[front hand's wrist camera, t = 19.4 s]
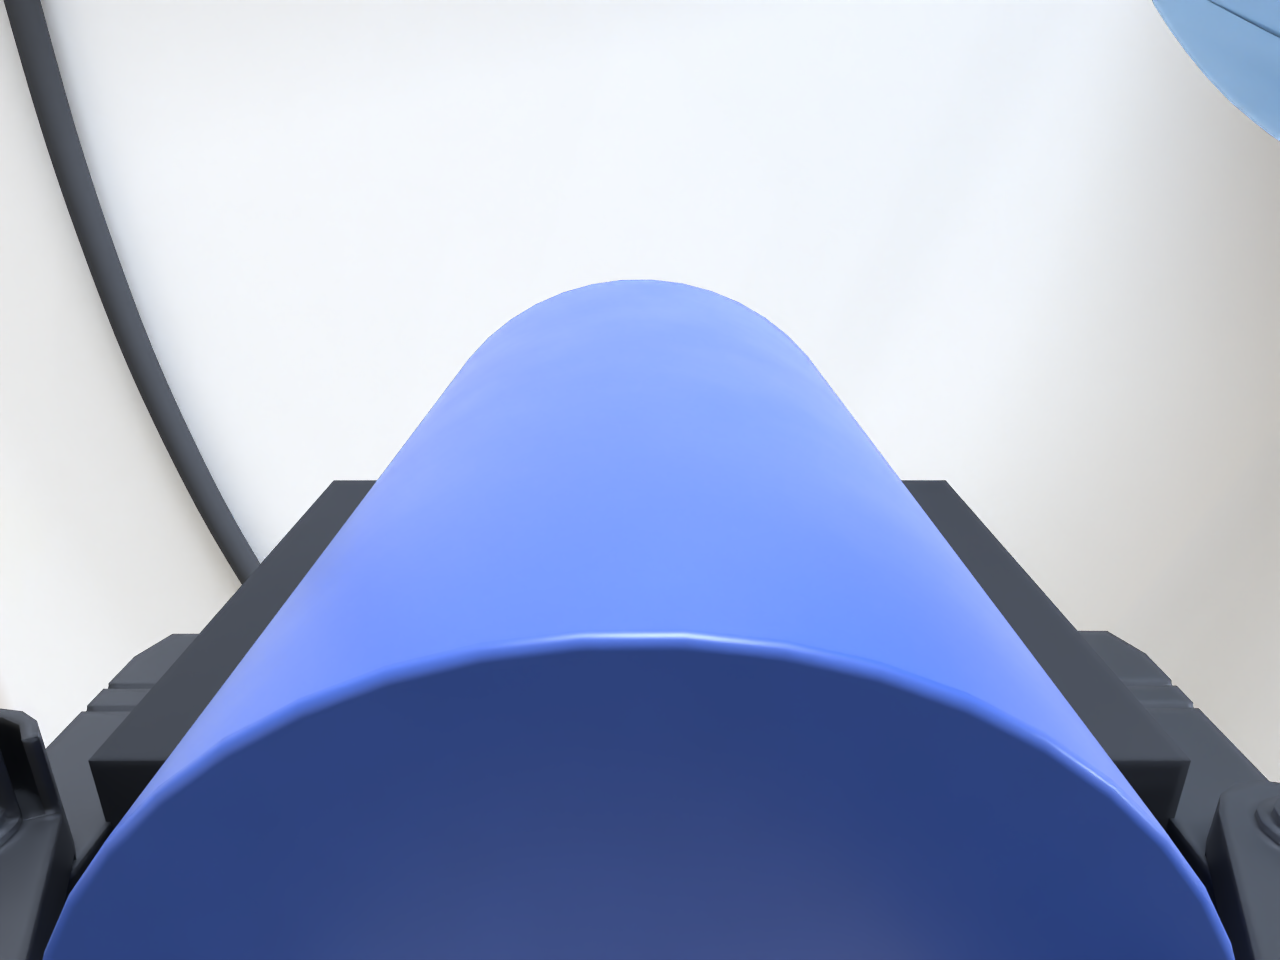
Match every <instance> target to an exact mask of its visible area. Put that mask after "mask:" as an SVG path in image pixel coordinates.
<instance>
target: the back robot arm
mask: <svg viewBox="0 0 1280 960" xmlns="http://www.w3.org/2000/svg"><path fill="white" fill-rule="evenodd" d="M1152 1H1153V4H1154V6H1155V7H1156V9H1157V10H1158V12H1159V13H1160V15H1161V17H1162V18H1163V20H1164V21H1165V23H1166V24H1167V26H1168V28H1169V29H1170V31H1171V32H1172V33H1173V35H1174V36H1175V37H1176V39H1177V40H1178V41H1179V43H1180V44H1181V46H1182V47H1183V48H1184V50H1185V51H1186V52H1187V54H1188V55H1189V56H1190V57H1191V59H1192V60H1193V61H1194V62H1195V63H1196V65H1197V66H1198V67H1199V68H1200V70H1201V71H1202V72H1203V73H1204V74H1205V76H1206V77H1207V78H1208V79H1209V80H1210V81H1211V82H1212V83H1213V84H1214V85H1215V86H1216V87H1217V89H1218V90H1219V91H1220V92H1221V93H1222V94H1223V95H1224V96H1225V97H1226V98H1227V99H1228V100H1229V101H1230V102H1231V103H1232V104H1233V105H1235V106H1236V107H1237V108H1238V109H1239V110H1240V111H1242V112H1243V113H1244V114H1245V115H1246V116H1248V117H1249V118H1250V119H1251V120H1252V121H1254V122H1255V123H1256V124H1257V125H1258V126H1260V127H1261V128H1262V129H1264V130H1265V131H1266V132H1267V133H1269V134H1270V135H1271V136H1273V137H1274V138H1276V139H1277V140H1279V141H1280V0H1152Z"/></svg>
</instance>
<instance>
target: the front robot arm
mask: <svg viewBox="0 0 1280 960" xmlns="http://www.w3.org/2000/svg"><path fill="white" fill-rule="evenodd" d="M4 3H5V7H6V10H7V14H8V17H9V21H10V24H11V28H12V31H13V35H14V38H15V42H16V45H17V49H18V52H19V56H20V59H21V63H22V66H23V70H24V73H25V76H26V80H27V83H28V87H29V90H30V93H31V97H32V100H33V103H34V107H35V110H36V113H37V117H38V120H39V123H40V127H41V130H42V133H43V136H44V139H45V142H46V146H47V149H48V152H49V155H50V158H51V161H52V164H53V167H54V170H55V173H56V176H57V179H58V182H59V185H60V188H61V191H62V194H63V197H64V200H65V202H66V205H67V208H68V211H69V214H70V217H71V219H72V222H73V225H74V228H75V231H76V233H77V236H78V239H79V242H80V244H81V247H82V250H83V253H84V255H85V258H86V261H87V264H88V266H89V269H90V272H91V274H92V277H93V280H94V282H95V285H96V288H97V290H98V293H99V296H100V298H101V301H102V303H103V306H104V309H105V311H106V314H107V316H108V319H109V321H110V324H111V326H112V329H113V331H114V334H115V336H116V339H117V341H118V344H119V346H120V348H121V351H122V353H123V356H124V358H125V360H126V363H127V365H128V367H129V369H130V372H131V374H132V376H133V379H134V381H135V383H136V385H137V387H138V390H139V392H140V394H141V396H142V398H143V401H144V403H145V405H146V407H147V409H148V411H149V413H150V415H151V418H152V420H153V422H154V424H155V426H156V428H157V430H158V432H159V434H160V436H161V438H162V440H163V443H164V445H165V447H166V449H167V451H168V453H169V455H170V457H171V459H172V461H173V463H174V465H175V467H176V469H177V471H178V473H179V475H180V477H181V478H182V480H183V482H184V484H185V486H186V488H187V490H188V492H189V494H190V496H191V498H192V499H193V501H194V503H195V505H196V507H197V509H198V511H199V512H200V514H201V516H202V518H203V520H204V521H205V523H206V525H207V527H208V529H209V530H210V532H211V534H212V536H213V537H214V539H215V541H216V542H217V544H218V546H219V548H220V549H221V551H222V553H223V554H224V556H225V558H226V559H227V561H228V563H229V564H230V566H231V567H232V569H233V571H234V572H235V574H236V576H237V577H238V579H239V580H240V582H241V584H242V586H241V587H240V588H239V589H238V590H237V592H236V593H235V594H234V595H233V596H232V597H231V598H230V600H229V601H228V602H227V603H226V604H225V605H224V606H223V608H222V609H221V610H220V611H219V612H218V613H217V614H216V615H215V617H214V618H213V619H212V620H211V621H210V622H209V623H208V625H207V626H206V627H205V628H204V629H203V630H202V631H201V633H200V634H172V635H170V636H168V637H167V638H165V639H163V640H162V641H160V642H158V643H157V644H155V645H153V646H152V647H150V648H148V649H147V650H145V651H143V652H142V653H140V654H138V655H137V656H135V657H134V658H133V659H132V660H131V661H130V662H129V663H128V664H127V665H126V666H125V667H124V668H123V669H122V670H121V671H120V672H119V673H118V674H117V675H116V676H115V677H114V678H113V680H112V681H111V682H110V683H109V687H108V689H103V690H102V691H101V692H100V693H99V694H98V695H97V696H96V697H95V698H94V699H93V700H92V701H91V702H90V703H89V704H88V706H87V711H86V712H81V713H80V714H79V715H78V716H77V717H76V718H75V719H74V720H73V721H72V722H71V723H70V724H69V725H68V726H67V727H66V728H65V729H64V730H63V731H62V733H61V734H60V735H59V736H58V737H57V738H56V739H55V740H54V741H53V742H52V743H51V744H50V745H49V746H48V747H47V748H46V749H45V746H44V743H43V740H42V736H41V733H40V730H39V727H38V723H37V721H36V720H35V719H33V718H32V717H30V716H29V715H27V714H26V713H24V712H23V711H15V710H7V709H0V960H43V956H44V951H45V949H46V947H47V944H48V942H49V940H50V937H51V935H52V933H53V930H54V928H55V926H56V923H57V921H58V919H59V916H60V914H61V912H62V910H63V907H64V905H65V903H66V900H67V898H68V896H69V894H70V892H71V891H72V889H73V888H74V886H75V885H76V884H77V882H78V881H79V879H80V878H81V876H82V875H83V873H84V872H85V870H86V869H87V867H88V866H89V864H90V863H91V861H92V860H93V859H94V857H95V856H96V854H97V853H98V851H99V850H100V848H101V847H102V845H103V844H104V842H105V841H106V839H107V838H108V837H109V835H110V834H111V833H112V831H113V830H114V829H115V827H116V826H117V825H118V824H119V822H120V821H121V820H122V818H123V817H124V816H125V814H126V813H127V812H128V810H129V809H130V808H131V806H132V805H133V804H134V802H135V801H136V800H137V798H138V797H139V796H140V794H141V793H142V792H143V790H144V789H145V788H146V786H147V785H148V784H149V782H150V781H151V780H152V778H153V777H154V776H155V774H156V773H157V772H158V770H159V769H160V768H161V766H162V765H163V764H164V763H165V761H166V760H167V759H168V757H169V756H170V755H171V753H172V752H173V751H174V749H175V748H176V747H177V745H178V744H179V743H180V741H181V740H182V739H183V737H184V736H185V735H186V733H187V732H188V731H189V729H190V728H191V727H192V725H193V724H194V723H195V721H196V720H197V719H198V717H199V716H200V715H201V713H202V712H203V711H204V709H205V708H206V707H207V706H208V704H209V703H210V702H211V700H212V699H213V698H214V696H215V695H216V694H217V692H218V691H219V690H220V688H221V687H222V686H223V684H224V683H225V682H226V680H227V679H228V678H229V676H230V675H231V674H232V672H233V671H234V670H235V668H236V667H237V666H238V664H239V663H240V662H241V660H242V659H243V658H244V656H245V655H246V654H247V652H248V651H249V650H250V648H251V647H252V646H253V645H254V643H255V642H256V641H257V639H258V638H259V637H260V635H261V634H262V633H263V631H264V630H265V629H266V627H267V626H268V625H269V623H270V622H271V621H272V619H273V618H274V617H275V615H276V614H277V613H278V611H279V610H280V609H281V607H282V606H283V605H284V603H285V602H286V601H287V599H288V598H289V597H290V595H291V594H292V593H293V591H294V590H295V589H296V587H297V586H298V585H299V584H300V582H301V581H302V580H303V578H304V577H305V576H306V574H307V573H308V572H309V570H310V569H311V568H312V566H313V565H314V564H315V562H316V561H317V560H318V558H319V557H320V556H321V554H322V553H323V552H324V550H325V549H326V548H327V546H328V545H329V544H330V542H331V541H332V540H333V538H334V537H335V536H336V534H337V533H338V532H339V530H340V529H341V528H342V526H343V525H344V524H345V523H346V521H347V520H348V519H349V517H350V516H351V515H352V513H353V512H354V511H355V509H356V508H357V507H358V505H359V504H360V503H361V501H362V500H363V499H364V497H365V496H366V495H367V493H368V492H369V491H370V489H371V488H372V487H373V485H374V484H375V483H376V481H333V482H332V483H331V484H330V485H329V487H328V488H327V489H326V490H325V491H324V492H323V493H322V495H321V496H320V497H319V498H318V499H317V500H316V501H315V503H314V504H313V505H312V506H311V507H310V508H309V509H308V511H307V512H306V513H305V514H304V515H303V516H302V517H301V519H300V520H299V521H298V522H297V523H296V524H295V525H294V527H293V528H292V529H291V530H290V531H289V532H288V533H287V535H286V536H285V537H284V538H283V539H282V540H281V541H280V542H279V544H278V545H277V546H276V547H275V548H274V549H273V550H272V552H271V553H270V554H269V555H268V556H267V557H266V558H265V560H264V561H263V562H262V563H261V564H260V563H259V561H258V559H257V558H256V556H255V554H254V553H253V551H252V549H251V548H250V546H249V544H248V543H247V541H246V539H245V537H244V536H243V534H242V532H241V530H240V529H239V527H238V525H237V523H236V522H235V520H234V518H233V516H232V514H231V513H230V511H229V509H228V507H227V505H226V503H225V501H224V500H223V498H222V496H221V494H220V492H219V490H218V488H217V486H216V484H215V482H214V480H213V478H212V476H211V474H210V472H209V470H208V468H207V466H206V464H205V462H204V460H203V458H202V456H201V454H200V452H199V450H198V448H197V446H196V444H195V442H194V440H193V438H192V436H191V434H190V431H189V429H188V427H187V425H186V423H185V421H184V419H183V417H182V414H181V412H180V410H179V408H178V406H177V404H176V401H175V399H174V397H173V395H172V393H171V390H170V388H169V386H168V384H167V381H166V379H165V377H164V374H163V372H162V370H161V367H160V365H159V363H158V360H157V358H156V356H155V353H154V351H153V348H152V346H151V343H150V341H149V339H148V336H147V334H146V331H145V328H144V326H143V323H142V321H141V318H140V316H139V313H138V310H137V308H136V305H135V302H134V300H133V297H132V294H131V292H130V289H129V286H128V283H127V281H126V278H125V275H124V272H123V270H122V267H121V264H120V261H119V258H118V256H117V253H116V250H115V247H114V244H113V241H112V238H111V236H110V233H109V230H108V227H107V224H106V221H105V218H104V215H103V212H102V210H101V207H100V204H99V201H98V198H97V195H96V192H95V189H94V186H93V183H92V179H91V176H90V173H89V170H88V167H87V164H86V161H85V157H84V154H83V151H82V148H81V145H80V141H79V138H78V135H77V131H76V128H75V125H74V121H73V118H72V114H71V111H70V108H69V104H68V101H67V97H66V94H65V90H64V86H63V83H62V79H61V76H60V72H59V68H58V65H57V61H56V58H55V54H54V50H53V47H52V43H51V39H50V36H49V32H48V28H47V24H46V21H45V17H44V13H43V10H42V6H41V2H40V0H4ZM901 481H902V483H903V484H904V485H905V487H906V488H907V489H908V490H909V492H910V493H911V494H912V496H913V497H914V498H915V500H916V501H917V502H918V504H919V505H920V506H921V508H922V509H923V510H924V512H925V513H926V514H927V516H928V517H929V518H930V520H931V521H932V522H933V524H934V525H935V526H936V528H937V529H938V530H939V532H940V533H941V534H942V536H943V537H944V538H945V540H946V541H947V542H948V544H949V545H950V546H951V548H952V549H953V550H954V552H955V553H956V554H957V556H958V557H959V558H960V560H961V561H962V562H963V563H964V565H965V566H966V567H967V569H968V570H969V571H970V573H971V574H972V575H973V577H974V578H975V579H976V581H977V582H978V583H979V585H980V586H981V587H982V589H983V590H984V591H985V593H986V594H987V595H988V597H989V598H990V599H991V601H992V602H993V603H994V605H995V606H996V607H997V609H998V610H999V611H1000V613H1001V614H1002V615H1003V617H1004V618H1005V619H1006V621H1007V622H1008V623H1009V625H1010V626H1011V627H1012V629H1013V630H1014V631H1015V633H1016V634H1017V635H1018V636H1019V638H1020V639H1021V640H1022V642H1023V643H1024V644H1025V646H1026V647H1027V648H1028V650H1029V651H1030V652H1031V654H1032V655H1033V656H1034V658H1035V659H1036V660H1037V662H1038V663H1039V664H1040V666H1041V667H1042V668H1043V670H1044V671H1045V672H1046V674H1047V675H1048V676H1049V678H1050V679H1051V680H1052V682H1053V683H1054V684H1055V686H1056V687H1057V688H1058V690H1059V691H1060V692H1061V694H1062V695H1063V696H1064V698H1065V699H1066V700H1067V702H1068V703H1069V704H1070V706H1071V707H1072V708H1073V710H1074V711H1075V712H1076V713H1077V715H1078V716H1079V717H1080V719H1081V720H1082V721H1083V723H1084V724H1085V725H1086V727H1087V728H1088V729H1089V731H1090V732H1091V733H1092V735H1093V736H1094V737H1095V739H1096V740H1097V741H1098V743H1099V744H1100V745H1101V747H1102V748H1103V749H1104V751H1105V752H1106V753H1107V755H1108V756H1109V757H1110V759H1111V760H1112V761H1113V763H1114V764H1115V765H1116V767H1117V768H1118V769H1119V771H1120V772H1121V773H1122V775H1123V776H1124V777H1125V779H1126V780H1127V781H1128V783H1129V784H1130V785H1131V786H1132V788H1133V789H1134V790H1135V792H1136V793H1137V794H1138V796H1139V797H1140V798H1141V800H1142V801H1143V802H1144V804H1145V805H1146V806H1147V808H1148V809H1149V810H1150V812H1151V813H1152V814H1153V816H1154V817H1155V818H1156V820H1157V821H1158V822H1159V824H1160V825H1161V826H1162V828H1163V829H1164V830H1165V832H1166V833H1167V834H1168V836H1169V837H1170V839H1171V840H1172V841H1173V843H1174V844H1175V846H1176V847H1177V848H1178V850H1179V851H1180V853H1181V854H1182V855H1183V857H1184V858H1185V860H1186V861H1187V862H1188V864H1189V865H1190V867H1191V868H1192V869H1193V871H1194V872H1195V874H1196V875H1197V876H1198V878H1199V879H1200V881H1201V882H1202V883H1203V885H1204V886H1205V888H1206V890H1207V892H1208V894H1209V897H1210V899H1211V901H1212V903H1213V905H1214V907H1215V910H1216V912H1217V914H1218V916H1219V918H1220V920H1221V923H1222V925H1223V927H1224V929H1225V931H1226V933H1227V936H1228V938H1229V940H1230V942H1231V945H1232V949H1233V953H1234V958H1235V960H1280V783H1276V782H1269V781H1268V780H1267V779H1266V777H1265V776H1264V775H1263V774H1262V773H1261V772H1260V771H1259V770H1258V769H1257V768H1256V767H1255V766H1254V765H1253V764H1252V763H1251V762H1250V761H1249V760H1248V759H1247V758H1246V757H1245V756H1244V755H1243V754H1242V753H1241V752H1240V751H1239V750H1238V749H1237V748H1236V747H1235V745H1234V744H1233V743H1232V742H1231V741H1230V740H1229V739H1228V738H1227V737H1226V736H1225V735H1224V734H1223V733H1222V732H1221V731H1220V730H1219V729H1218V728H1217V727H1216V726H1215V725H1214V724H1213V723H1212V722H1211V721H1210V720H1209V719H1208V718H1207V717H1206V716H1205V715H1204V713H1203V712H1202V711H1201V710H1200V709H1199V708H1193V702H1192V701H1191V700H1190V699H1189V698H1188V697H1187V696H1186V695H1185V694H1184V693H1183V692H1182V691H1181V690H1180V689H1179V688H1178V687H1177V686H1172V684H1171V679H1170V678H1169V677H1168V676H1167V675H1166V674H1165V673H1164V672H1163V671H1162V670H1161V669H1160V668H1159V667H1158V666H1157V665H1156V664H1155V663H1154V662H1153V661H1152V660H1151V659H1150V658H1149V657H1148V656H1147V655H1146V654H1145V653H1143V652H1142V651H1140V650H1138V649H1137V648H1135V647H1133V646H1132V645H1130V644H1128V643H1127V642H1125V641H1123V640H1121V639H1120V638H1118V637H1116V636H1115V635H1113V634H1111V633H1110V632H1108V631H1077V630H1076V629H1075V628H1074V627H1073V625H1072V624H1071V623H1070V622H1069V621H1068V620H1067V619H1066V617H1065V616H1064V615H1063V614H1062V613H1061V612H1060V611H1059V609H1058V608H1057V607H1056V606H1055V605H1054V604H1053V603H1052V601H1051V600H1050V599H1049V598H1048V597H1047V596H1046V595H1045V593H1044V592H1043V591H1042V590H1041V589H1040V588H1039V587H1038V585H1037V584H1036V583H1035V582H1034V581H1033V580H1032V579H1031V577H1030V576H1029V575H1028V574H1027V573H1026V572H1025V571H1024V569H1023V568H1022V567H1021V566H1020V565H1019V564H1018V563H1017V561H1016V560H1015V559H1014V558H1013V557H1012V556H1011V555H1010V554H1009V552H1008V551H1007V550H1006V549H1005V548H1004V547H1003V546H1002V544H1001V543H1000V542H999V541H998V540H997V539H996V538H995V536H994V535H993V534H992V533H991V532H990V531H989V530H988V528H987V527H986V526H985V525H984V524H983V523H982V522H981V520H980V519H979V518H978V517H977V516H976V515H975V514H974V512H973V511H972V510H971V509H970V508H969V507H968V506H967V504H966V503H965V502H964V501H963V500H962V499H961V498H960V496H959V495H958V494H957V493H956V492H955V491H954V490H953V488H952V487H951V486H950V485H949V484H948V483H947V482H946V481H945V480H901Z"/></svg>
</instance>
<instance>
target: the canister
mask: <svg viewBox="0 0 1280 960" xmlns="http://www.w3.org/2000/svg"><path fill="white" fill-rule="evenodd" d="M43 960H1235V958H1234V953H1233V949H1232V945H1231V942H1230V940H1229V938H1228V936H1227V933H1226V931H1225V929H1224V927H1223V925H1222V923H1221V920H1220V918H1219V916H1218V914H1217V912H1216V910H1215V907H1214V905H1213V903H1212V901H1211V899H1210V897H1209V894H1208V892H1207V890H1206V888H1205V886H1204V885H1203V883H1202V882H1201V881H1200V879H1199V878H1198V876H1197V875H1196V874H1195V872H1194V871H1193V869H1192V868H1191V867H1190V865H1189V864H1188V862H1187V861H1186V860H1185V858H1184V857H1183V855H1182V854H1181V853H1180V851H1179V850H1178V848H1177V847H1176V846H1175V844H1174V843H1173V841H1172V840H1171V839H1170V837H1169V836H1168V834H1167V833H1166V832H1165V830H1164V829H1163V828H1162V826H1161V825H1160V824H1159V822H1158V821H1157V820H1156V818H1155V817H1154V816H1153V814H1152V813H1151V812H1150V810H1149V809H1148V808H1147V806H1146V805H1145V804H1144V802H1143V801H1142V800H1141V798H1140V797H1139V796H1138V794H1137V793H1136V792H1135V790H1134V789H1133V788H1132V786H1131V785H1130V784H1129V783H1128V781H1127V780H1126V779H1125V777H1124V776H1123V775H1122V773H1121V772H1120V771H1119V769H1118V768H1117V767H1116V765H1115V764H1114V763H1113V761H1112V760H1111V759H1110V757H1109V756H1108V755H1107V753H1106V752H1105V751H1104V749H1103V748H1102V747H1101V745H1100V744H1099V743H1098V741H1097V740H1096V739H1095V737H1094V736H1093V735H1092V733H1091V732H1090V731H1089V729H1088V728H1087V727H1086V725H1085V724H1084V723H1083V721H1082V720H1081V719H1080V717H1079V716H1078V715H1077V713H1076V712H1075V711H1074V710H1073V708H1072V707H1071V706H1070V704H1069V703H1068V702H1067V700H1066V699H1065V698H1064V696H1063V695H1062V694H1061V692H1060V691H1059V690H1058V688H1057V687H1056V686H1055V684H1054V683H1053V682H1052V680H1051V679H1050V678H1049V676H1048V675H1047V674H1046V672H1045V671H1044V670H1043V668H1042V667H1041V666H1040V664H1039V663H1038V662H1037V660H1036V659H1035V658H1034V656H1033V655H1032V654H1031V652H1030V651H1029V650H1028V648H1027V647H1026V646H1025V644H1024V643H1023V642H1022V640H1021V639H1020V638H1019V636H1018V635H1017V634H1016V633H1015V631H1014V630H1013V629H1012V627H1011V626H1010V625H1009V623H1008V622H1007V621H1006V619H1005V618H1004V617H1003V615H1002V614H1001V613H1000V611H999V610H998V609H997V607H996V606H995V605H994V603H993V602H992V601H991V599H990V598H989V597H988V595H987V594H986V593H985V591H984V590H983V589H982V587H981V586H980V585H979V583H978V582H977V581H976V579H975V578H974V577H973V575H972V574H971V573H970V571H969V570H968V569H967V567H966V566H965V565H964V563H963V562H962V561H961V560H960V558H959V557H958V556H957V554H956V553H955V552H954V550H953V549H952V548H951V546H950V545H949V544H948V542H947V541H946V540H945V538H944V537H943V536H942V534H941V533H940V532H939V530H938V529H937V528H936V526H935V525H934V524H933V522H932V521H931V520H930V518H929V517H928V516H927V514H926V513H925V512H924V510H923V509H922V508H921V506H920V505H919V504H918V502H917V501H916V500H915V498H914V497H913V496H912V494H911V493H910V492H909V490H908V489H907V488H906V487H905V485H904V484H903V483H902V481H901V480H900V479H899V477H898V476H897V475H896V473H895V472H894V471H893V469H892V468H891V467H890V465H889V464H888V463H887V461H886V460H885V459H884V457H883V456H882V455H881V453H880V452H879V451H878V449H877V448H876V447H875V445H874V444H873V443H872V441H871V440H870V439H869V437H868V436H867V435H866V433H865V432H864V431H863V429H862V428H861V427H860V425H859V424H858V423H857V421H856V420H855V419H854V417H853V416H852V415H851V414H850V412H849V411H848V410H847V408H846V407H845V406H844V404H843V403H842V402H841V400H840V399H839V398H838V396H837V395H836V394H835V392H834V391H833V390H832V388H831V387H830V386H829V384H828V383H827V382H826V380H825V379H824V378H823V376H822V375H821V374H820V372H819V371H818V370H817V368H816V367H815V366H814V364H813V363H812V362H811V360H810V359H809V358H808V356H807V355H806V354H805V353H804V352H803V351H802V350H801V349H800V348H799V347H798V346H797V345H796V344H795V343H794V342H793V341H792V340H791V339H790V338H789V337H788V336H787V335H786V334H785V333H784V332H782V331H781V330H780V329H779V328H777V327H776V326H775V325H774V324H772V323H771V322H770V321H768V320H767V319H766V318H765V317H763V316H761V315H759V314H758V313H756V312H754V311H753V310H751V309H749V308H747V307H746V306H744V305H742V304H741V303H739V302H736V301H734V300H732V299H729V298H727V297H724V296H722V295H719V294H717V293H715V292H712V291H709V290H705V289H701V288H697V287H693V286H690V285H686V284H682V283H674V282H666V281H658V280H619V281H612V282H605V283H598V284H592V285H588V286H585V287H581V288H578V289H574V290H570V291H567V292H563V293H561V294H559V295H556V296H554V297H552V298H549V299H547V300H545V301H543V302H540V303H538V304H536V305H534V306H532V307H531V308H529V309H527V310H526V311H524V312H523V313H521V314H519V315H518V316H516V317H514V318H513V319H511V320H510V321H508V322H507V323H506V324H505V325H504V326H502V327H501V328H500V329H499V330H497V331H496V332H495V333H494V334H492V335H491V336H490V337H489V338H488V339H487V340H486V341H485V342H484V343H483V344H482V345H481V346H480V347H479V348H478V350H477V351H476V352H475V353H474V354H473V355H472V356H471V357H470V358H469V359H468V361H467V362H466V363H465V365H464V366H463V367H462V369H461V370H460V371H459V373H458V374H457V375H456V377H455V378H454V379H453V381H452V382H451V383H450V385H449V386H448V387H447V389H446V390H445V391H444V393H443V394H442V395H441V397H440V398H439V399H438V401H437V402H436V403H435V405H434V406H433V407H432V408H431V410H430V411H429V412H428V414H427V415H426V416H425V418H424V419H423V420H422V422H421V423H420V424H419V426H418V427H417V428H416V430H415V431H414V432H413V434H412V435H411V436H410V438H409V439H408V440H407V442H406V443H405V444H404V446H403V447H402V448H401V450H400V451H399V452H398V454H397V455H396V456H395V458H394V459H393V460H392V462H391V463H390V464H389V466H388V467H387V468H386V469H385V471H384V472H383V473H382V475H381V476H380V477H379V479H378V480H377V481H376V483H375V484H374V485H373V487H372V488H371V489H370V491H369V492H368V493H367V495H366V496H365V497H364V499H363V500H362V501H361V503H360V504H359V505H358V507H357V508H356V509H355V511H354V512H353V513H352V515H351V516H350V517H349V519H348V520H347V521H346V523H345V524H344V525H343V526H342V528H341V529H340V530H339V532H338V533H337V534H336V536H335V537H334V538H333V540H332V541H331V542H330V544H329V545H328V546H327V548H326V549H325V550H324V552H323V553H322V554H321V556H320V557H319V558H318V560H317V561H316V562H315V564H314V565H313V566H312V568H311V569H310V570H309V572H308V573H307V574H306V576H305V577H304V578H303V580H302V581H301V582H300V584H299V585H298V586H297V587H296V589H295V590H294V591H293V593H292V594H291V595H290V597H289V598H288V599H287V601H286V602H285V603H284V605H283V606H282V607H281V609H280V610H279V611H278V613H277V614H276V615H275V617H274V618H273V619H272V621H271V622H270V623H269V625H268V626H267V627H266V629H265V630H264V631H263V633H262V634H261V635H260V637H259V638H258V639H257V641H256V642H255V643H254V645H253V646H252V647H251V648H250V650H249V651H248V652H247V654H246V655H245V656H244V658H243V659H242V660H241V662H240V663H239V664H238V666H237V667H236V668H235V670H234V671H233V672H232V674H231V675H230V676H229V678H228V679H227V680H226V682H225V683H224V684H223V686H222V687H221V688H220V690H219V691H218V692H217V694H216V695H215V696H214V698H213V699H212V700H211V702H210V703H209V704H208V706H207V707H206V708H205V709H204V711H203V712H202V713H201V715H200V716H199V717H198V719H197V720H196V721H195V723H194V724H193V725H192V727H191V728H190V729H189V731H188V732H187V733H186V735H185V736H184V737H183V739H182V740H181V741H180V743H179V744H178V745H177V747H176V748H175V749H174V751H173V752H172V753H171V755H170V756H169V757H168V759H167V760H166V761H165V763H164V764H163V765H162V766H161V768H160V769H159V770H158V772H157V773H156V774H155V776H154V777H153V778H152V780H151V781H150V782H149V784H148V785H147V786H146V788H145V789H144V790H143V792H142V793H141V794H140V796H139V797H138V798H137V800H136V801H135V802H134V804H133V805H132V806H131V808H130V809H129V810H128V812H127V813H126V814H125V816H124V817H123V818H122V820H121V821H120V822H119V824H118V825H117V826H116V827H115V829H114V830H113V831H112V833H111V834H110V835H109V837H108V838H107V839H106V841H105V842H104V844H103V845H102V847H101V848H100V850H99V851H98V853H97V854H96V856H95V857H94V859H93V860H92V861H91V863H90V864H89V866H88V867H87V869H86V870H85V872H84V873H83V875H82V876H81V878H80V879H79V881H78V882H77V884H76V885H75V886H74V888H73V889H72V891H71V892H70V894H69V896H68V898H67V900H66V903H65V905H64V907H63V910H62V912H61V914H60V916H59V919H58V921H57V923H56V926H55V928H54V930H53V933H52V935H51V937H50V940H49V942H48V944H47V947H46V949H45V951H44V956H43Z"/></svg>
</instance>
